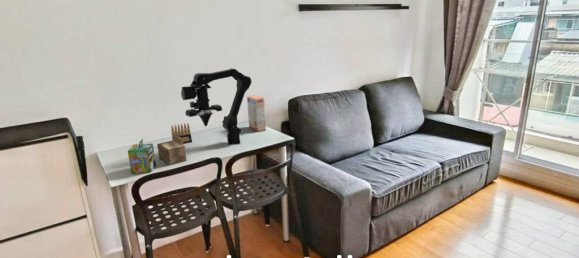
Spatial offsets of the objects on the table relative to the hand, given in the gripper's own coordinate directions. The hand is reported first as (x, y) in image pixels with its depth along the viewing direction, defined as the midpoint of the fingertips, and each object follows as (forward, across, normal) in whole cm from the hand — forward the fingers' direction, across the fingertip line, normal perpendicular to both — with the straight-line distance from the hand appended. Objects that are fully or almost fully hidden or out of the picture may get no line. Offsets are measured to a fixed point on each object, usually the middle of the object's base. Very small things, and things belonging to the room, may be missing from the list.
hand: (205, 125), depth 186 cm
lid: (+6, +20, +2) cm, 21 cm away
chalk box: (+13, +36, +4) cm, 39 cm away
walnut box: (+13, +21, +2) cm, 25 cm away
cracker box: (+13, -41, -12) cm, 45 cm away
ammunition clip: (+13, +6, -20) cm, 25 cm away
